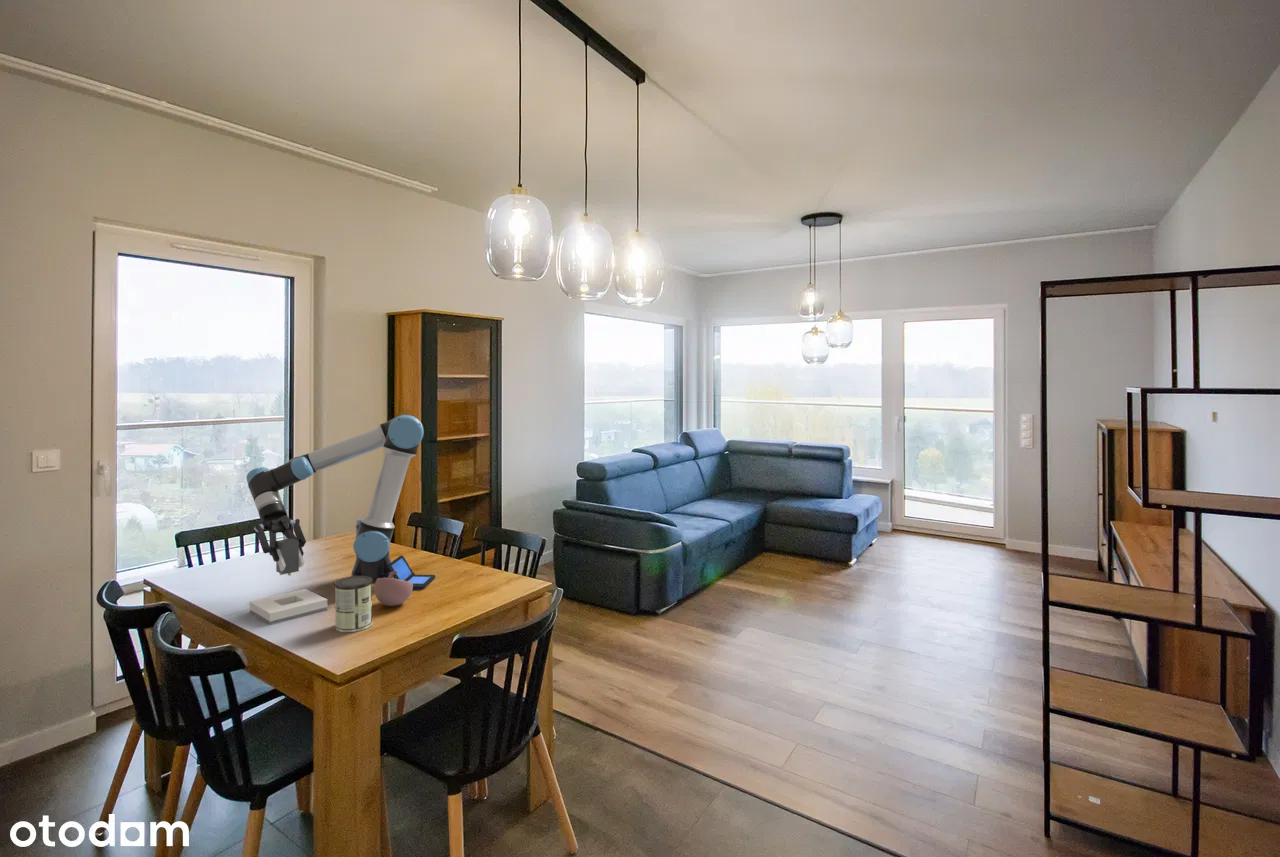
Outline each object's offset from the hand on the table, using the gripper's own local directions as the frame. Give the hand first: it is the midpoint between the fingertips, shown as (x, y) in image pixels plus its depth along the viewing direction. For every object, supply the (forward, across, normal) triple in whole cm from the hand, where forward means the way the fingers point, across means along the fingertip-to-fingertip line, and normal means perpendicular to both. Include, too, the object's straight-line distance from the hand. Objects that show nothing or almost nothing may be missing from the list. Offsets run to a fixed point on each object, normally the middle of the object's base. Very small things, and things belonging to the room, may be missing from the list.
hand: (292, 566), depth 192 cm
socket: (+8, 0, -13) cm, 16 cm away
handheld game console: (+11, -42, -11) cm, 45 cm away
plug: (0, 0, -5) cm, 5 cm away
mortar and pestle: (+22, -25, 0) cm, 34 cm away
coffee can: (+28, -8, +6) cm, 30 cm away
